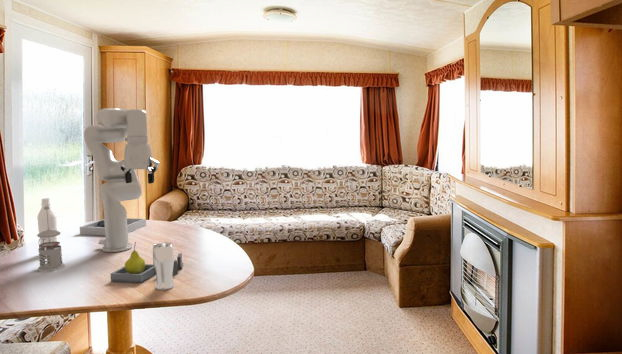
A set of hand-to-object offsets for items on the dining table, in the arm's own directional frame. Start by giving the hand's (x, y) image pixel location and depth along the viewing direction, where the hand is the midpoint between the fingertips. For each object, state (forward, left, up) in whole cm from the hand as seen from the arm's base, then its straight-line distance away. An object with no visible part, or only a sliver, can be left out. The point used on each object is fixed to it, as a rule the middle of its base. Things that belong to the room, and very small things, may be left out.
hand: (139, 183), depth 170 cm
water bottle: (-49, +6, -34) cm, 60 cm away
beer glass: (+22, -24, -34) cm, 47 cm away
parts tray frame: (-49, +53, -33) cm, 79 cm away
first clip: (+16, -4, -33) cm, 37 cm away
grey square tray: (+6, -16, -33) cm, 37 cm away
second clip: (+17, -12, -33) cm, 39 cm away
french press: (-35, -10, -34) cm, 49 cm away
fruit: (+6, -16, -33) cm, 37 cm away
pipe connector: (-51, +51, -34) cm, 80 cm away
